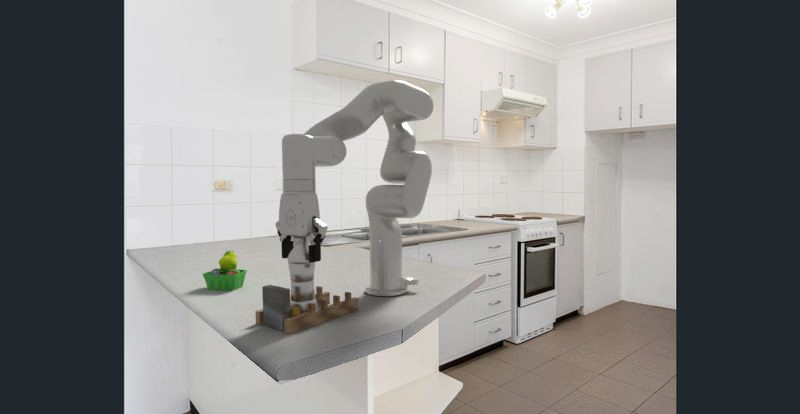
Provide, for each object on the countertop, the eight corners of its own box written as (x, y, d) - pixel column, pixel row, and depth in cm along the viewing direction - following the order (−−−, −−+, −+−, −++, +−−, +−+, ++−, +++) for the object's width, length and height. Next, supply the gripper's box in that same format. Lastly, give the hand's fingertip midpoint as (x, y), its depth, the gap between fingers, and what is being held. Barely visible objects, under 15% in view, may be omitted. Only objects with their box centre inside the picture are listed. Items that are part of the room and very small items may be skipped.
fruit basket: (201, 290, 134) (200, 253, 133) (218, 283, 143) (217, 249, 142) (235, 291, 132) (234, 254, 131) (250, 284, 141) (249, 250, 140)
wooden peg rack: (325, 302, 119) (325, 269, 118) (358, 309, 112) (358, 274, 111) (255, 323, 101) (254, 285, 101) (289, 334, 94) (288, 292, 94)
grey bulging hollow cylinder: (311, 323, 101) (309, 237, 100) (284, 322, 102) (282, 237, 101) (321, 315, 107) (320, 234, 106) (296, 313, 109) (294, 233, 108)
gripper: (263, 187, 105) (265, 258, 106) (312, 187, 95) (313, 266, 96) (288, 187, 111) (290, 254, 112) (336, 187, 101) (338, 260, 102)
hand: (301, 259), depth 104 cm, fingers open, 9 cm apart
